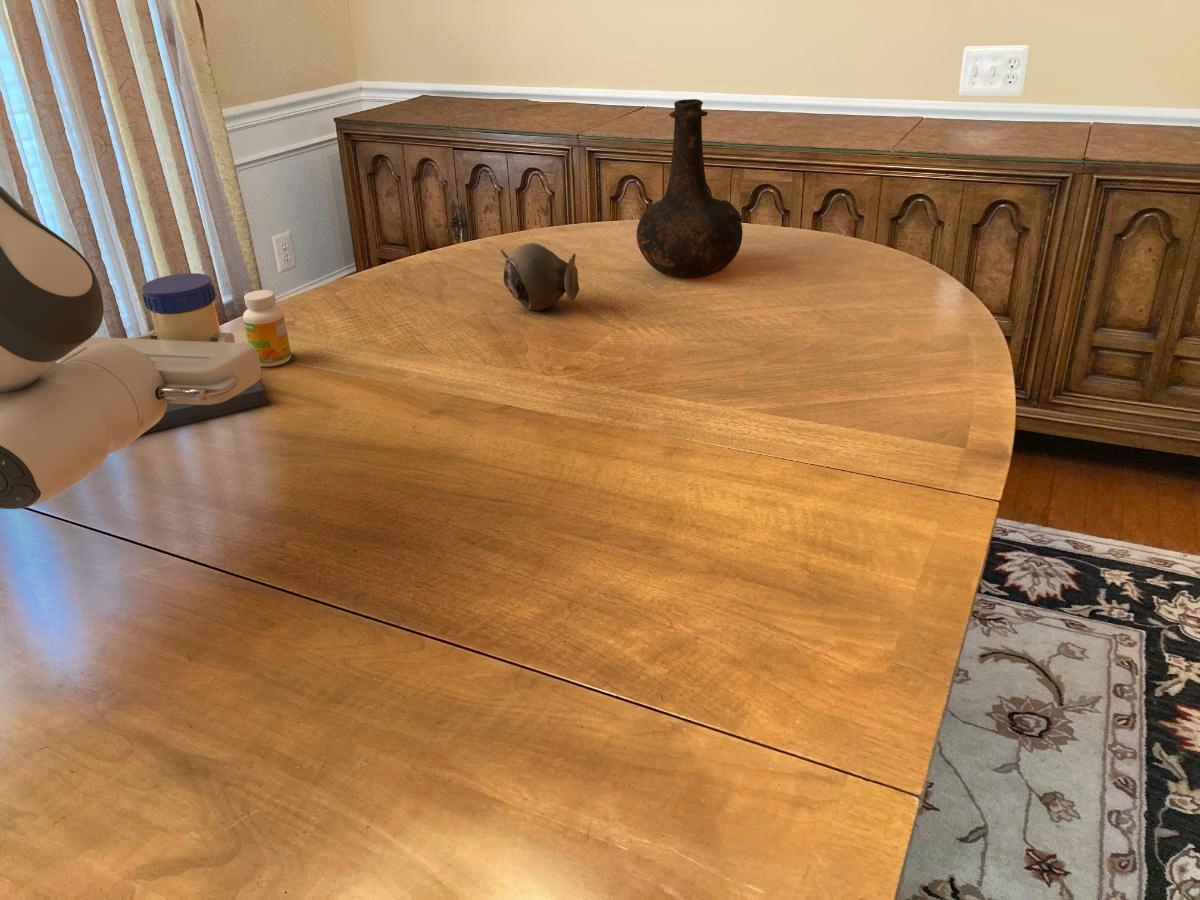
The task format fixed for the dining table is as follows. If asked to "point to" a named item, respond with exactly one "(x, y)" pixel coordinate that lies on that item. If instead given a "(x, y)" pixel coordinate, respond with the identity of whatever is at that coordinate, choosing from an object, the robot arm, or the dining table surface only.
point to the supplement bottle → (266, 328)
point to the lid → (178, 293)
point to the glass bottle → (689, 210)
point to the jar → (187, 324)
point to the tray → (210, 408)
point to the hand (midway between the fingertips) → (195, 338)
